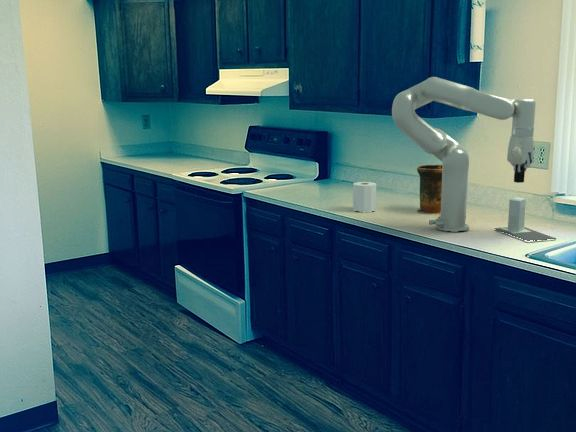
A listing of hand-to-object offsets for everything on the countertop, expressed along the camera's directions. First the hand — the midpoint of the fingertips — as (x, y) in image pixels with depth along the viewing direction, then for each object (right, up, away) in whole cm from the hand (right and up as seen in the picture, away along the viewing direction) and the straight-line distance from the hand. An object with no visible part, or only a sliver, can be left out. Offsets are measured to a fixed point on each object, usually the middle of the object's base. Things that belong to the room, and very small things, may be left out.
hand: (518, 182), depth 235 cm
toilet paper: (-52, -10, +44) cm, 69 cm away
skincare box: (0, -18, +4) cm, 19 cm away
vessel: (-23, -11, +40) cm, 48 cm away
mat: (+2, -20, -1) cm, 20 cm away
